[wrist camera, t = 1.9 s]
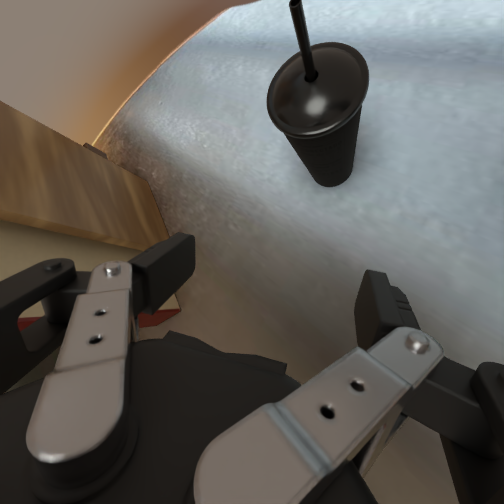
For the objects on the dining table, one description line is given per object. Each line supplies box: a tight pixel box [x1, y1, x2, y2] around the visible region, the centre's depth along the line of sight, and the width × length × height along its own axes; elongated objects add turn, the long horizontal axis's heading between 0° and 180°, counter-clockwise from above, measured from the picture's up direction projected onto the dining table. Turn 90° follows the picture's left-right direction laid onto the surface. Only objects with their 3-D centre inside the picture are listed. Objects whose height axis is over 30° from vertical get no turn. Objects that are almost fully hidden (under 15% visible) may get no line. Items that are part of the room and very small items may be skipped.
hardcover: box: [0, 220, 181, 331], centre depth 31 cm, size 5×15×21 cm, turn 27°
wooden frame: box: [0, 101, 170, 251], centre depth 31 cm, size 10×15×27 cm, turn 27°
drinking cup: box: [267, 0, 369, 187], centre depth 23 cm, size 8×8×20 cm
